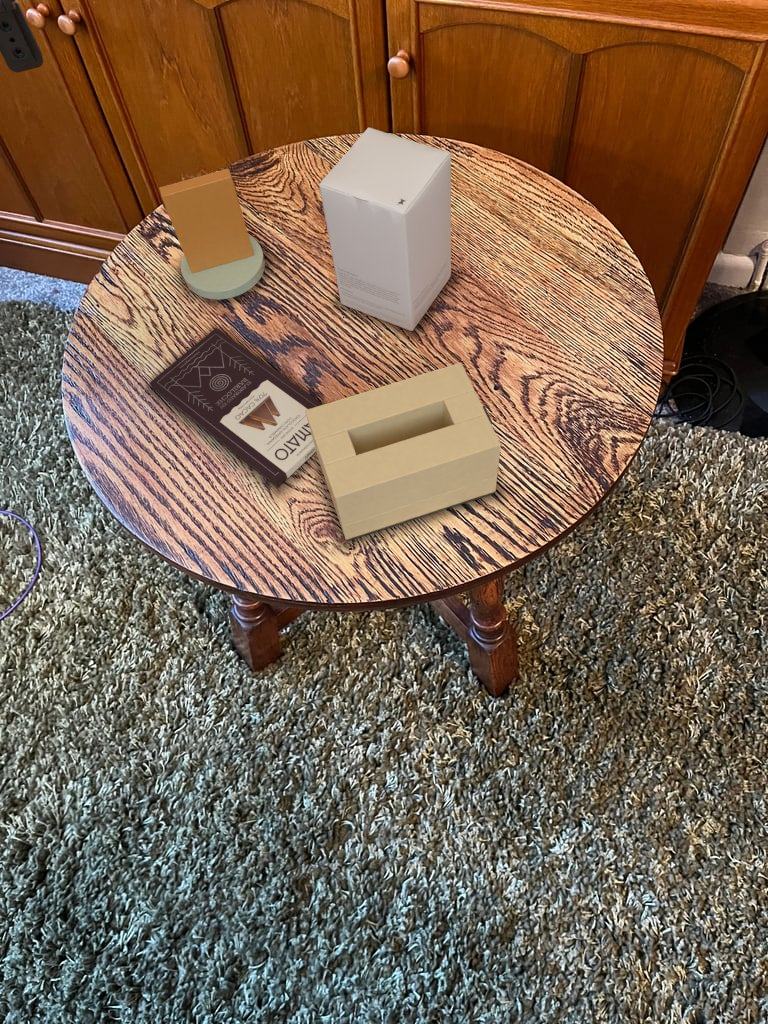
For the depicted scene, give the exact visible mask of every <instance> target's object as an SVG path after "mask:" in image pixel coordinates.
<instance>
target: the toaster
mask: <svg viewBox="0 0 768 1024" xmlns="http://www.w3.org/2000/svg"><path fill="white" fill-rule="evenodd" d="M305 413H306V416H307V420H308V424H309V427H310V431H311V435H312V438H313V442H314V445H315V449H316V452H315V453H316V457H317V460H318V463H319V466H320V468H321V472H322V474H323V478H324V481H325V484H326V487H327V490H328V492H329V495H330V498H331V501H332V505H333V507H334V509H335V513H336V516H337V519H338V522H339V525H340V528H341V530H342V533H343V536H344V540H345V542H346V543H347V542H350V541H353V540H356V539H360V538H363V537H366V536H369V535H372V534H375V533H378V532H381V531H384V530H387V529H390V528H394V527H397V526H400V525H403V524H406V523H410V522H412V521H415V520H418V519H421V518H424V517H427V516H430V515H434V514H436V513H440V512H442V511H446V510H449V509H452V508H455V507H458V506H461V505H465V504H467V503H471V502H474V501H476V500H479V499H483V498H486V497H489V496H492V495H496V493H497V490H496V489H497V482H498V475H499V466H500V465H499V464H500V457H501V456H500V455H501V448H502V443H501V442H500V439H499V437H498V435H497V434H496V432H495V429H494V427H493V420H492V418H491V416H490V414H489V412H488V409H487V408H486V406H485V405H482V402H481V400H480V399H479V396H478V393H477V392H476V391H475V388H474V386H473V384H472V382H471V380H470V378H469V376H468V373H467V372H466V369H465V367H464V365H463V363H462V362H457V363H454V364H450V365H447V366H445V367H441V368H438V369H435V370H431V371H428V372H425V373H421V374H419V375H415V376H412V377H409V378H406V379H405V378H404V379H402V380H400V381H396V382H392V383H389V384H386V385H383V386H379V387H376V388H373V389H370V390H367V391H363V392H359V393H356V394H354V395H350V396H347V397H343V398H340V399H337V400H334V401H331V402H327V403H325V404H323V405H321V406H317V407H314V408H311V409H308V410H305Z"/></svg>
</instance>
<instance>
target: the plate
mask: <svg viewBox="0 0 768 1024" xmlns="http://www.w3.org/2000/svg"><path fill="white" fill-rule="evenodd" d="M249 239H250V242H251V246H252V249H253V253H254V256H251V257H247V258H244V259H240V260H237V261H233V262H230V263H226V264H223V265H219V266H216V267H213V268H209V269H206V270H202V271H199V272H195V273H191V271H190V268H189V266H188V263H187V261H186V258H185V255H184V254H183V256H182V258H181V261H180V271H181V275H182V277H183V280H184V282H185V284H186V286H187V288H188V289H189V290H190V291H191V292H192V293H194V294H195V295H197V296H199V297H202V298H205V299H209V300H226V299H227V300H228V299H232V298H235V297H239V296H241V295H243V294H245V293H246V292H249V291H250V290H251V289H253V288H254V287H255V286H256V285H257V284H258V283H259V282H260V280H261V278H262V277H263V275H264V272H265V269H266V260H265V256H264V255H265V254H264V252H263V249H262V247H261V245H260V243H259V242H258V241H257V239H255V238H254V237H252V236H250V235H249Z"/></svg>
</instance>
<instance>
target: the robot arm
mask: <svg viewBox="0 0 768 1024" xmlns="http://www.w3.org/2000/svg"><path fill="white" fill-rule="evenodd" d="M0 54H1V56H2V58H3V60H4V62H5V64H6V66H7V67H8V69H9V70H10V71H12V72H13V73H23V72H26V71H30V70H34V69H37V68H40V67H42V66H43V65H44V64H43V63H44V58H43V53H42V50H41V48H40V45H39V44H38V42H37V40H36V37H35V35H34V33H33V32H32V29H31V27H30V25H29V22H28V20H27V18H26V15H25V14H24V11H23V10H22V7H21V5H20V3H19V0H0Z"/></svg>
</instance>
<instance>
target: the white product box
mask: <svg viewBox="0 0 768 1024" xmlns="http://www.w3.org/2000/svg"><path fill="white" fill-rule="evenodd" d="M318 188H319V192H320V197H321V202H322V208H323V214H324V219H325V225H326V231H327V236H328V241H329V247H330V252H331V257H332V258H331V259H332V263H333V269H334V274H335V279H336V280H335V281H336V285H337V291H338V294H339V295H338V297H339V303H340V304H341V305H343V306H345V307H348V308H351V309H353V310H355V311H358V312H361V313H364V314H366V315H368V316H371V317H374V318H375V319H379V320H381V321H384V322H386V323H389V324H391V325H394V326H397V327H399V328H401V329H405V330H407V331H410V332H413V331H414V330H415V328H416V327H417V325H418V324H419V323H420V321H421V320H422V318H423V317H424V316H425V314H426V313H427V311H428V310H429V308H430V307H431V306H432V304H433V303H434V301H435V300H436V299H437V297H438V295H440V293H441V292H442V290H443V288H444V287H445V285H446V284H447V283H448V281H449V280H450V278H451V277H452V153H451V151H446V150H444V149H440V148H437V147H433V146H430V145H427V144H423V143H420V142H416V141H414V140H410V139H407V138H404V137H400V136H398V135H395V134H392V133H387V132H386V131H385V132H384V131H381V130H379V129H375V128H373V127H367V128H366V129H365V130H364V132H363V133H361V135H360V136H359V137H358V139H356V141H354V143H353V144H352V146H351V147H350V148H349V149H348V150H347V151H346V153H345V154H344V155H343V156H342V157H341V159H339V160H338V162H337V163H336V164H335V165H334V166H333V167H332V168H331V169H330V171H329V172H328V173H327V174H326V175H325V176H324V177H323V179H322V180H321V182H319V184H318Z"/></svg>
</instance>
